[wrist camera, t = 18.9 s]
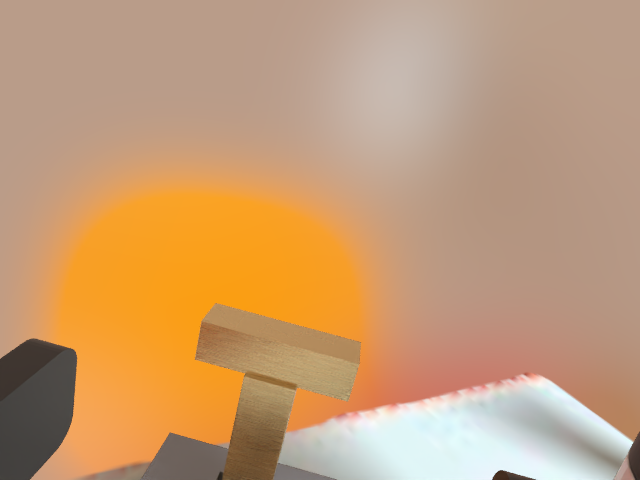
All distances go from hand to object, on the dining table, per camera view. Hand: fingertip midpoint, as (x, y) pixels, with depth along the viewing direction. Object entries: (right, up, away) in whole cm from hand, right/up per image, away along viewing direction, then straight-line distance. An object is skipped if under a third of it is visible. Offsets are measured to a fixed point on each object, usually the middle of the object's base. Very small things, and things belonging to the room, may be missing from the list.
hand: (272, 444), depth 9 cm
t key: (-5, -19, +24) cm, 31 cm away
